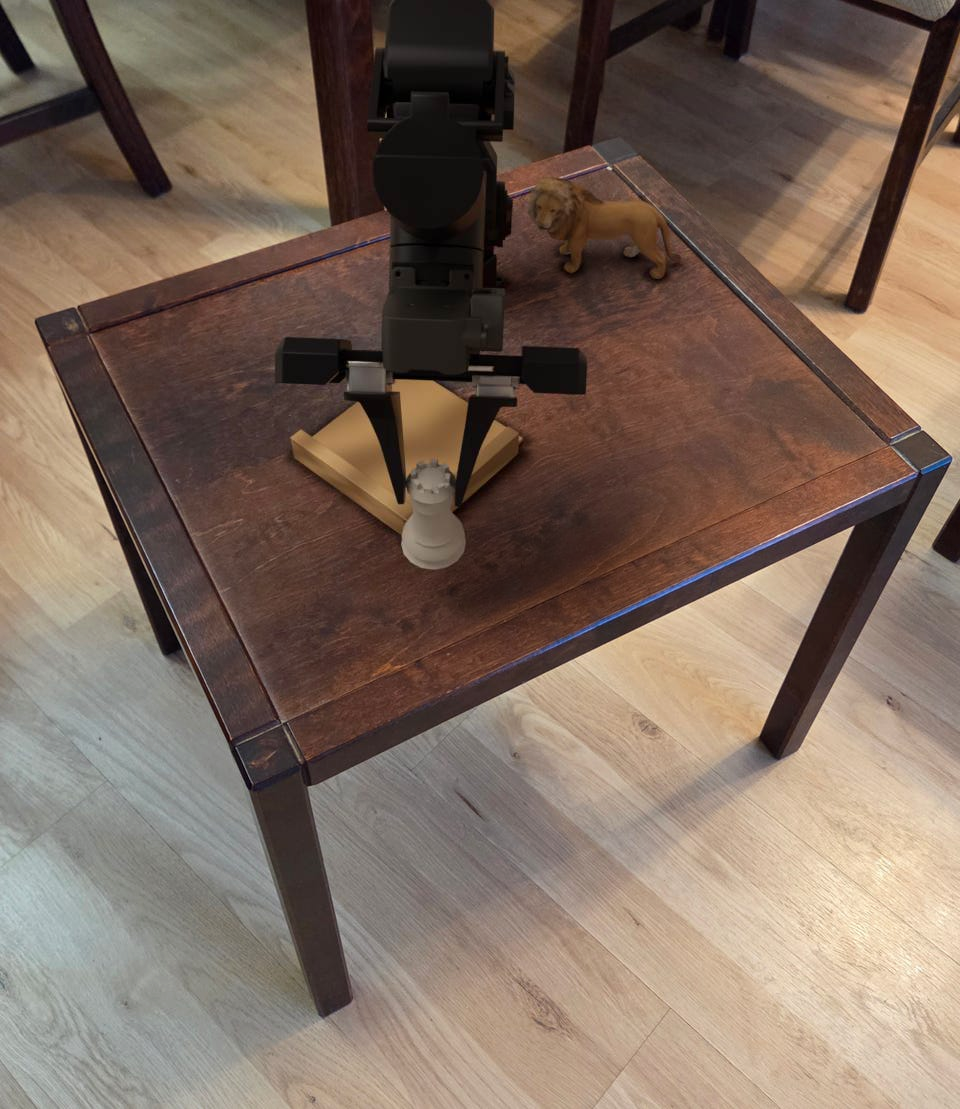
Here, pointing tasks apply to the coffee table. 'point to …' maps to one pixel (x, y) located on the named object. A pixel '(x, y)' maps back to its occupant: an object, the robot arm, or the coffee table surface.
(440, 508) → the rook chess piece
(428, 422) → the corner guide
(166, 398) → the coffee table surface
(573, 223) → the lion figurine
